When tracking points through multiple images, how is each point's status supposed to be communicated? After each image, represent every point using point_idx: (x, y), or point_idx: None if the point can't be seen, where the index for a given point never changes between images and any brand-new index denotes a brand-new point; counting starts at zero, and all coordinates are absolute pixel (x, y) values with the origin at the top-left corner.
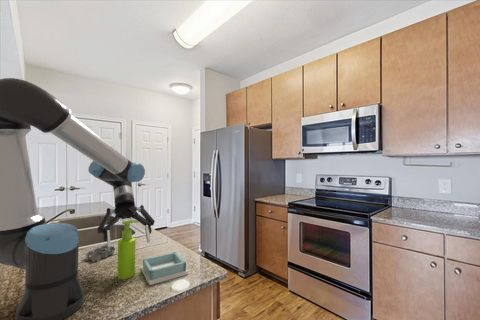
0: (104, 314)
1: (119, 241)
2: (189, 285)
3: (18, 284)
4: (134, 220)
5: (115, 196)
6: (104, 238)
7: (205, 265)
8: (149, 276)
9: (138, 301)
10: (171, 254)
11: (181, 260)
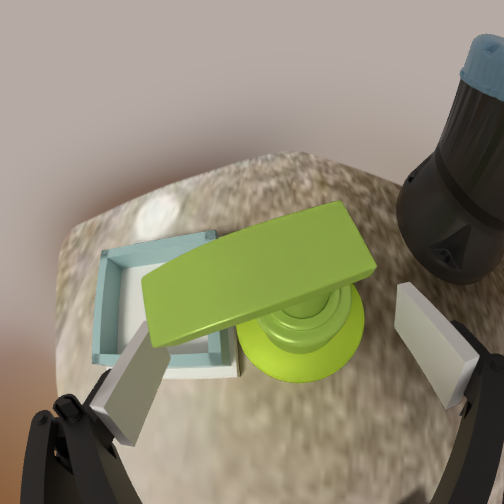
0: (337, 164)
1: (352, 295)
2: (143, 204)
3: None
4: (185, 301)
5: None
6: (458, 323)
7: (68, 289)
8: None
9: (267, 180)
10: (109, 354)
11: (104, 271)
